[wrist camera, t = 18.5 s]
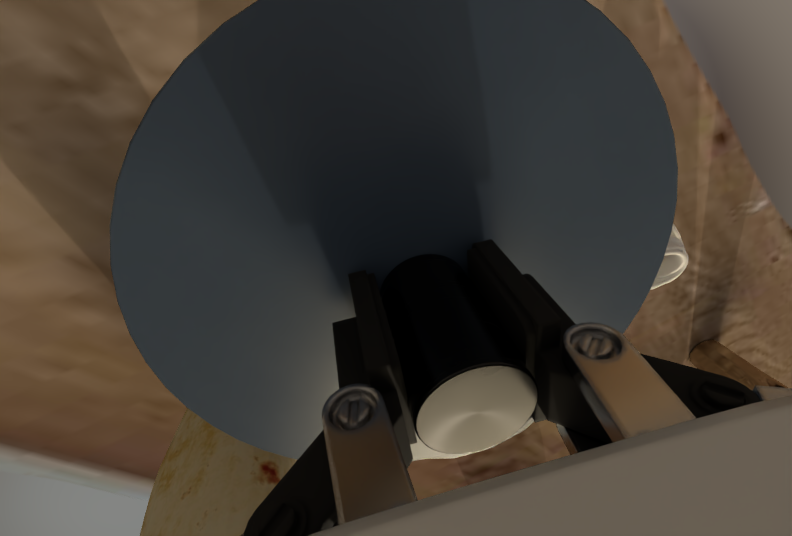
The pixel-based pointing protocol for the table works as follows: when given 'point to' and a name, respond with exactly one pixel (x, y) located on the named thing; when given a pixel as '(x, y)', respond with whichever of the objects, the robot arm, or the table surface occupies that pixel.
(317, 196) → the pot lid
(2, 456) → the table surface
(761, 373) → the milkshake
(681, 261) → the whipped cream
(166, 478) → the food model
